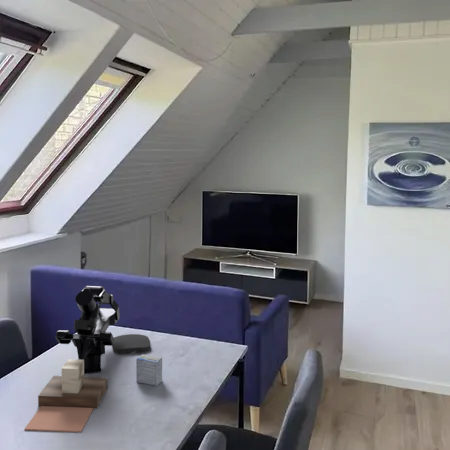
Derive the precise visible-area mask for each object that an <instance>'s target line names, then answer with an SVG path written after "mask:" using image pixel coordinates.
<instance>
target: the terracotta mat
mask: <svg viewBox="0 0 450 450" xmlns="http://www.w3.org/2000/svg"><path fill="white" fill-rule="evenodd" d="M93 411H94V409H93V408H80V407H53V406H41V407H39V408H38V410H37V411H36V413H34V415H33V417H32V418H31V419H30V420H29V422H28V423H27V425H26V426H25V427H24V431H37V432H63V433H82V432H83V429H84V428H85V426H86V424H87V422H88V420H89V418H90V416H91V414H92V412H93Z"/></svg>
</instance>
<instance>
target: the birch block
mask: <svg viewBox="0 0 450 450" xmlns="http://www.w3.org/2000/svg"><path fill="white" fill-rule="evenodd" d="M61 376H62V393H78V392H79V391H80V389H81V388H82V386H83V384H84V377H85V374H84V360H79V359H78V358H77V359H74V358H73V359H71V358H68V359H67V361H66V362H65V363H64V364H63V366H62V367H61Z"/></svg>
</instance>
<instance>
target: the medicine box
mask: <svg viewBox="0 0 450 450" xmlns="http://www.w3.org/2000/svg"><path fill="white" fill-rule="evenodd" d="M135 369H136V375H135V376H136V380H135V381H136V383H140V384H146V385H150V386H157V387H158V386H159V384H160V383H162V382H163V357H160V356H155V355H151V354H143V353H142V354H141V355H139V356H138V357H137V358H136V367H135Z"/></svg>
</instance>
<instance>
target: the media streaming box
mask: <svg viewBox="0 0 450 450" xmlns="http://www.w3.org/2000/svg"><path fill="white" fill-rule="evenodd" d="M113 338H114V343H113V345H112V346H111V348H112V351H113V353H115V354H117V355H118V354H119V355H127V354H128V355H129V354H130V355H131V354H139V353H142V354H143V353H146V352H149V351H151V346H152V345H151V341H150V339H149V337H148V336H147V335H144V334H139V333H138V334H137V333H134V334H133V333H132V334H131V333H130V334H121V335H117V336H115V337H114V336H113Z"/></svg>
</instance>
